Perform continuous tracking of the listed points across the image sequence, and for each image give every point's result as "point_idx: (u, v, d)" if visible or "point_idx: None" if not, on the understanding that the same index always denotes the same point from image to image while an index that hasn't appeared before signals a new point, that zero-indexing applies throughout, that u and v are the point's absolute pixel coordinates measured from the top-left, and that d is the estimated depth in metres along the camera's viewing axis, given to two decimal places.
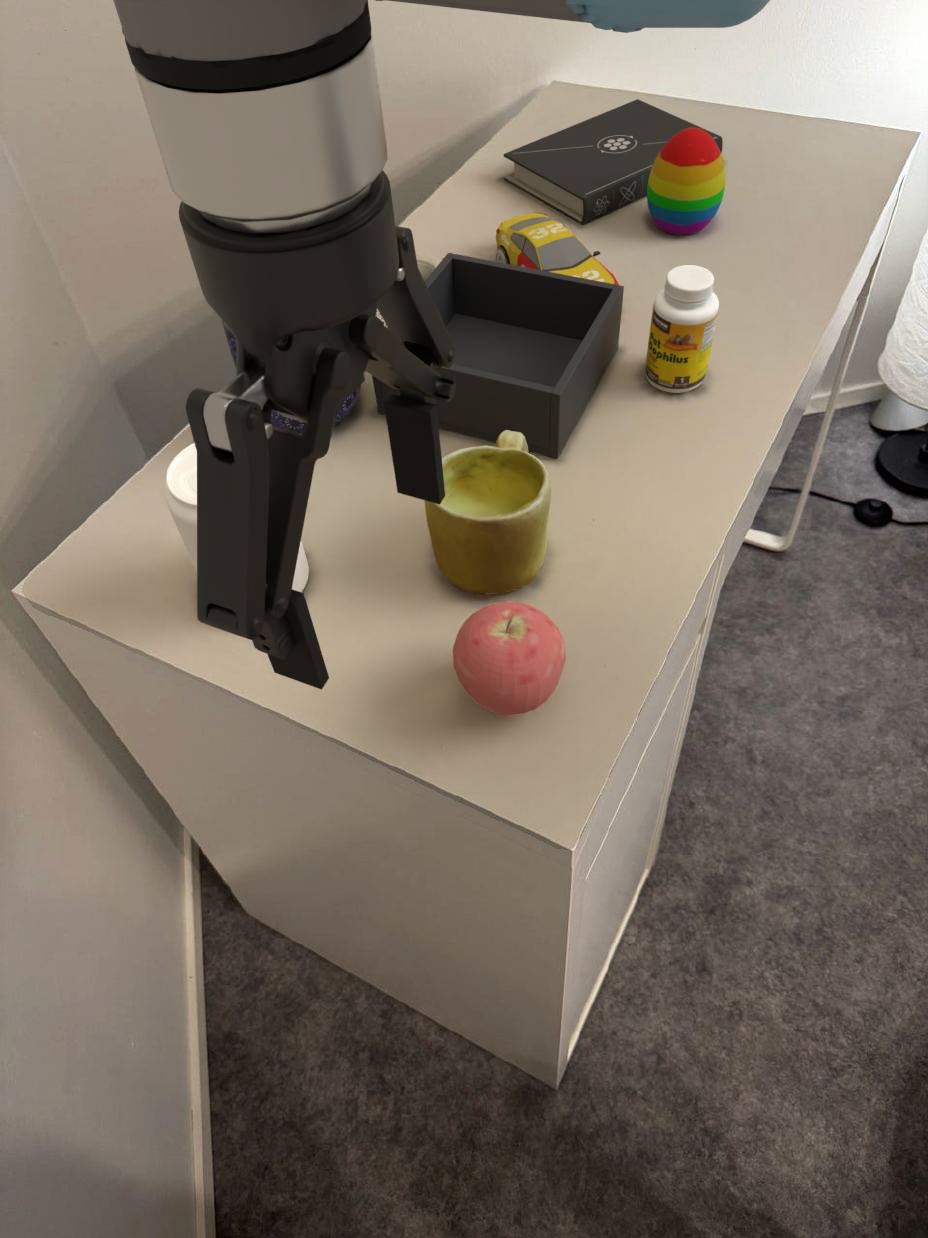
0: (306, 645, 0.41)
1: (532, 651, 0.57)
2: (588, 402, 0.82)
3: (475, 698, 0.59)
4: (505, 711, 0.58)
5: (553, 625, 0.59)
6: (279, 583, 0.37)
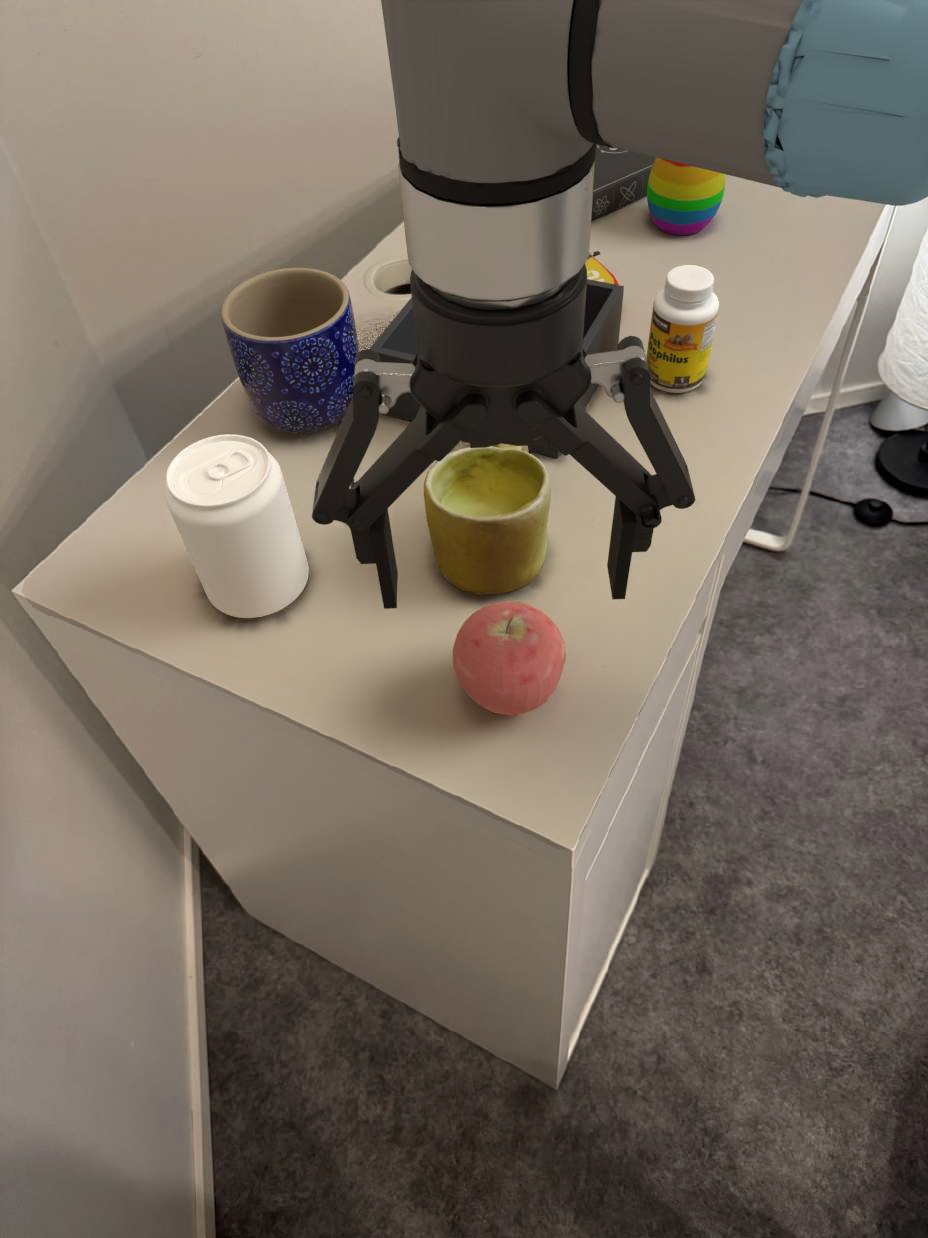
0: None
1: (532, 651, 0.57)
2: (588, 402, 0.82)
3: (475, 698, 0.59)
4: (505, 711, 0.58)
5: (553, 625, 0.59)
6: (360, 509, 0.47)
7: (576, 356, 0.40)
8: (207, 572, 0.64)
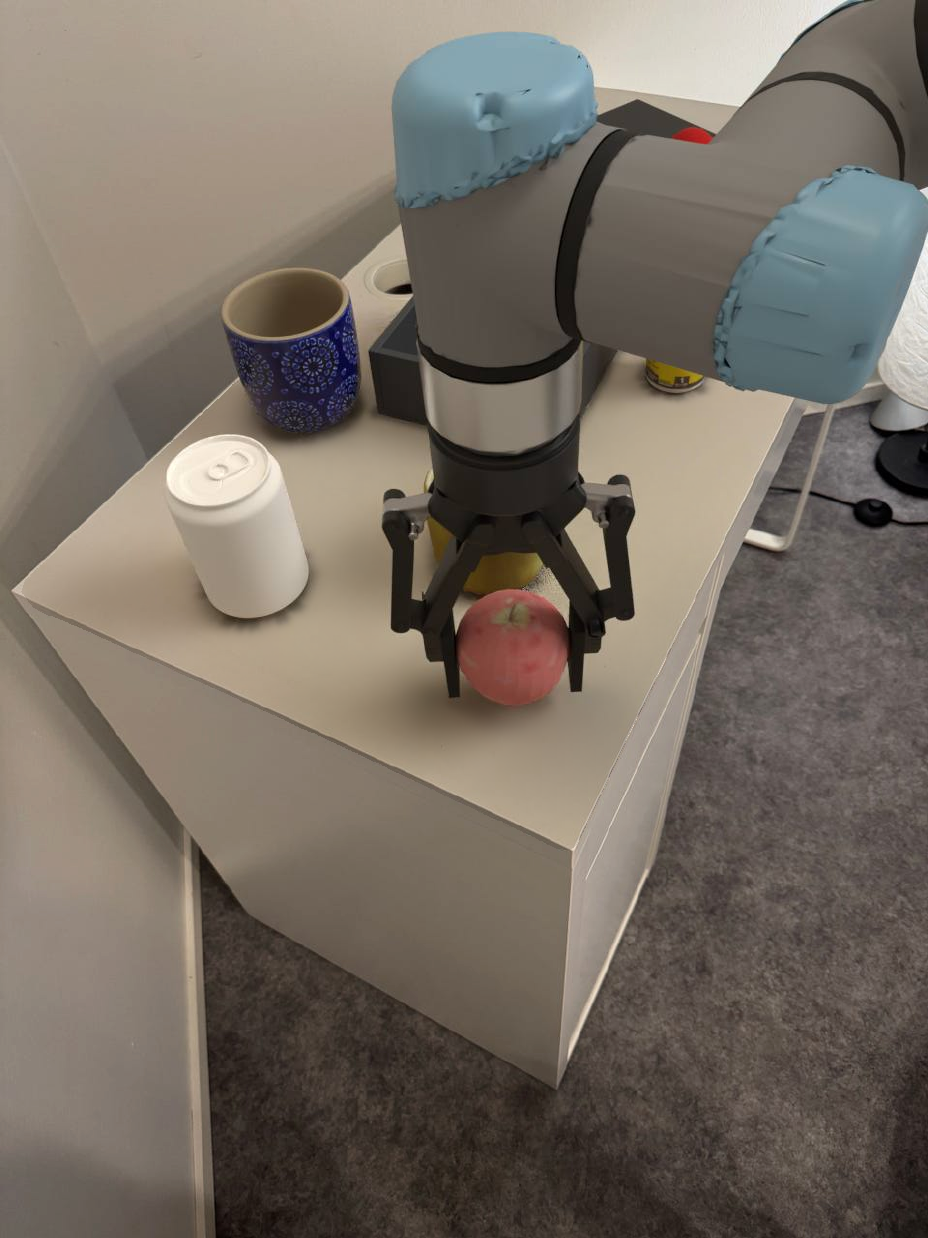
0: (444, 666, 0.58)
1: (535, 639, 0.55)
2: (588, 402, 0.82)
3: (477, 688, 0.57)
4: (509, 701, 0.57)
5: (557, 613, 0.58)
6: (427, 621, 0.55)
7: (572, 483, 0.46)
8: (207, 572, 0.64)
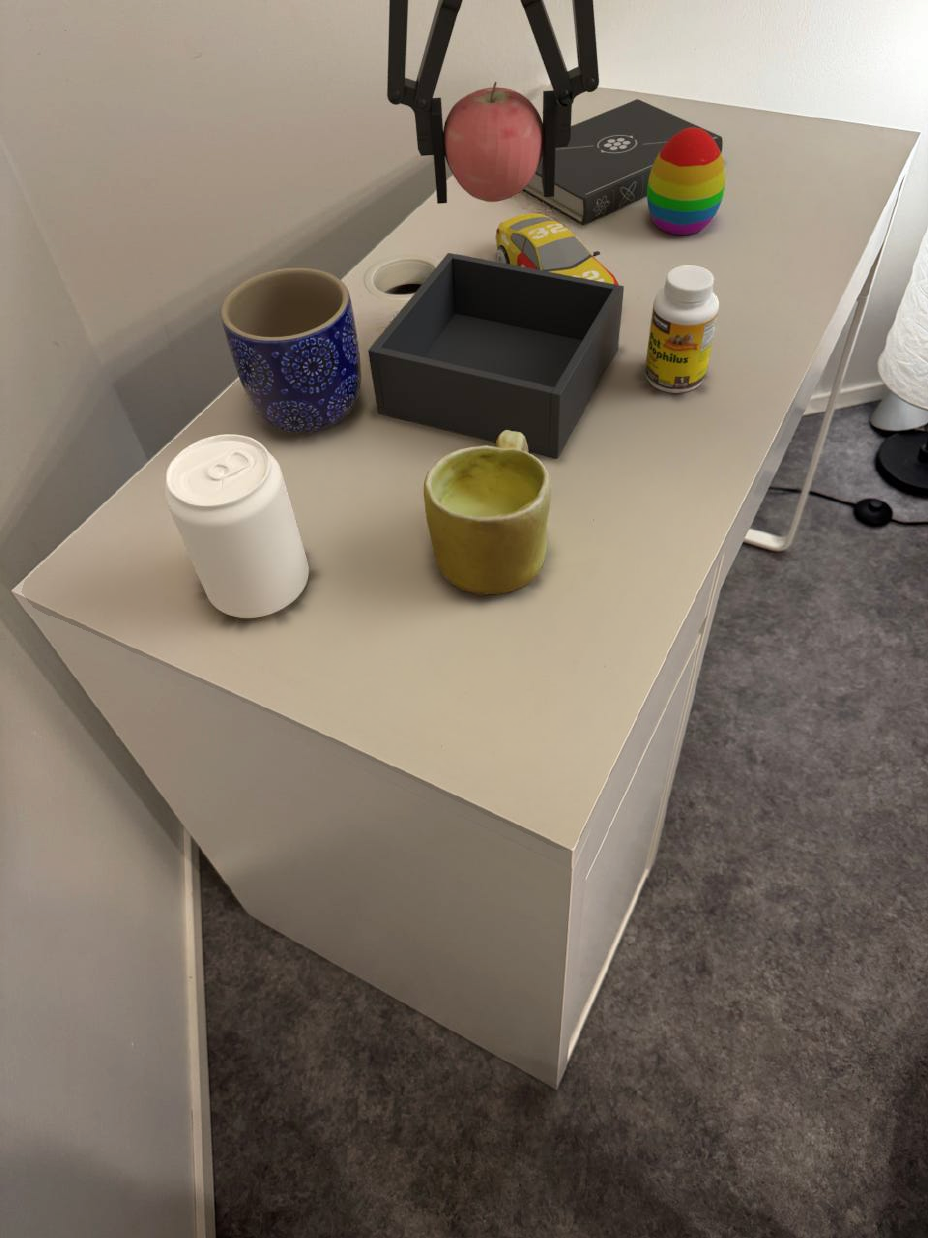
0: None
1: (513, 110, 0.64)
2: (588, 402, 0.82)
3: (462, 167, 0.66)
4: (490, 178, 0.65)
5: None
6: (419, 87, 0.63)
7: None
8: (207, 572, 0.64)
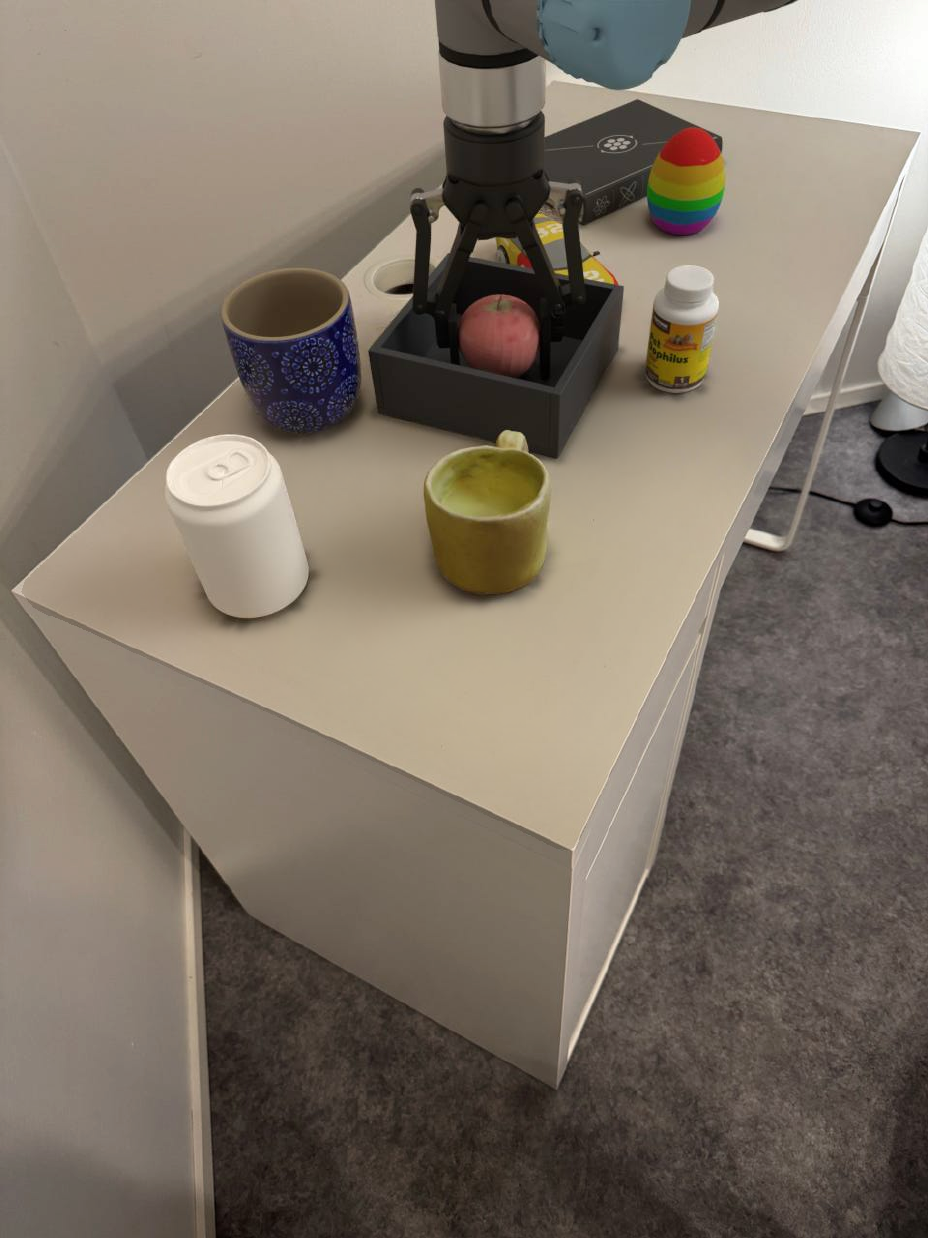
0: None
1: (515, 319, 0.78)
2: (588, 402, 0.82)
3: (474, 361, 0.80)
4: (496, 370, 0.79)
5: (532, 309, 0.80)
6: (438, 302, 0.77)
7: (540, 173, 0.69)
8: (207, 572, 0.64)
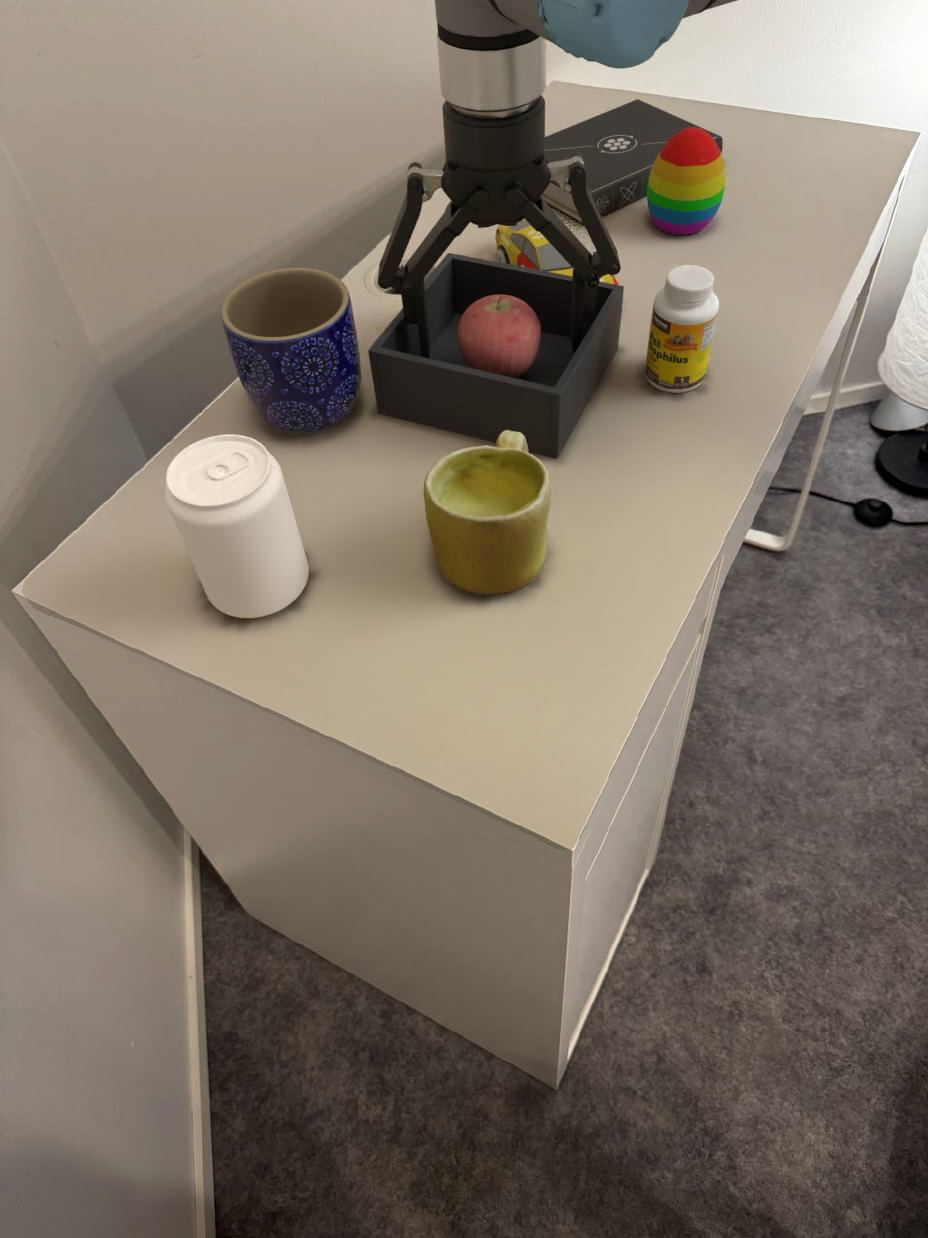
0: None
1: (515, 319, 0.78)
2: (588, 402, 0.82)
3: (474, 361, 0.80)
4: (496, 370, 0.79)
5: (531, 309, 0.80)
6: (408, 276, 0.75)
7: (540, 159, 0.68)
8: (207, 572, 0.64)
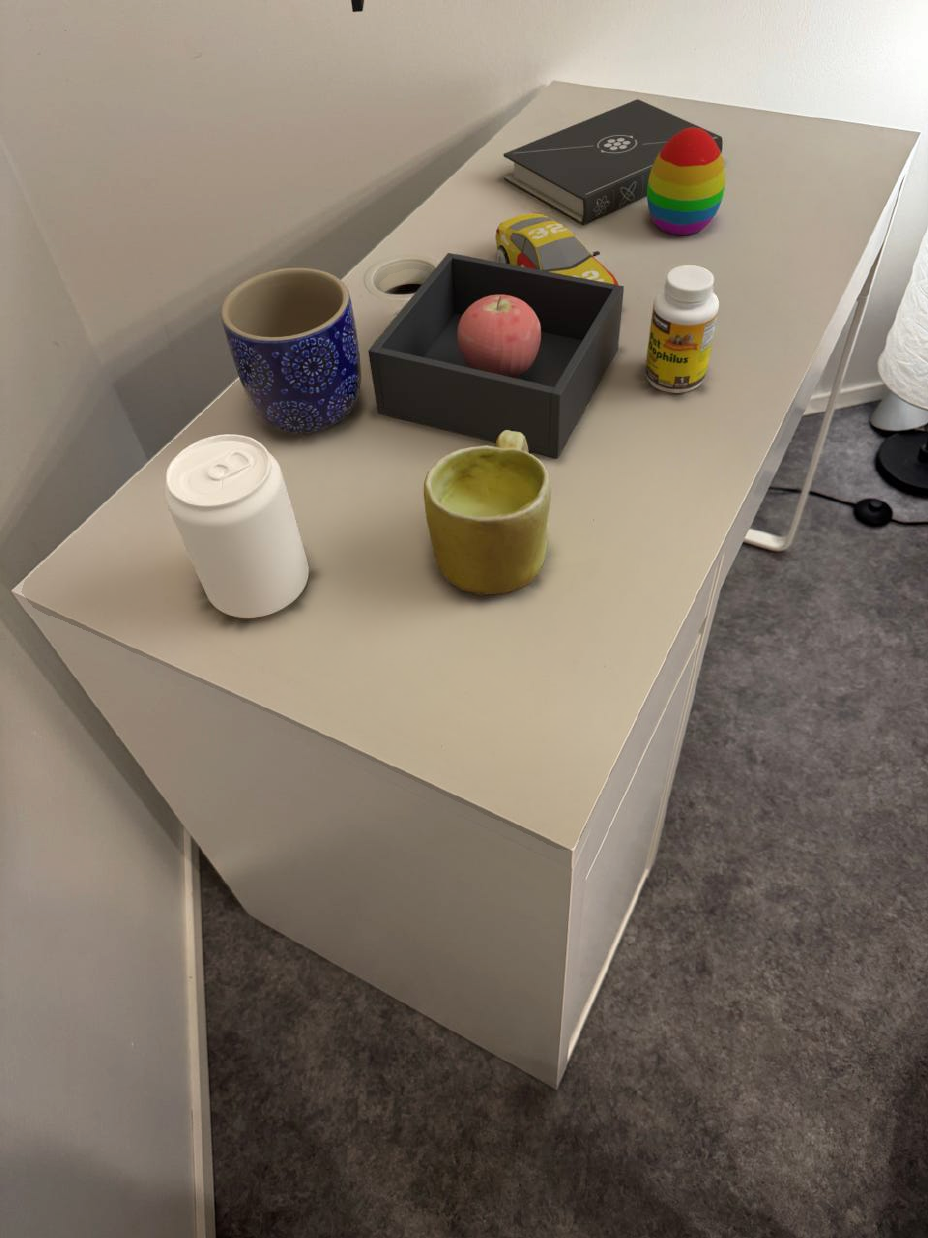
0: None
1: (515, 319, 0.78)
2: (588, 402, 0.82)
3: (474, 361, 0.80)
4: (496, 370, 0.79)
5: (531, 309, 0.80)
6: None
7: None
8: (207, 572, 0.64)
